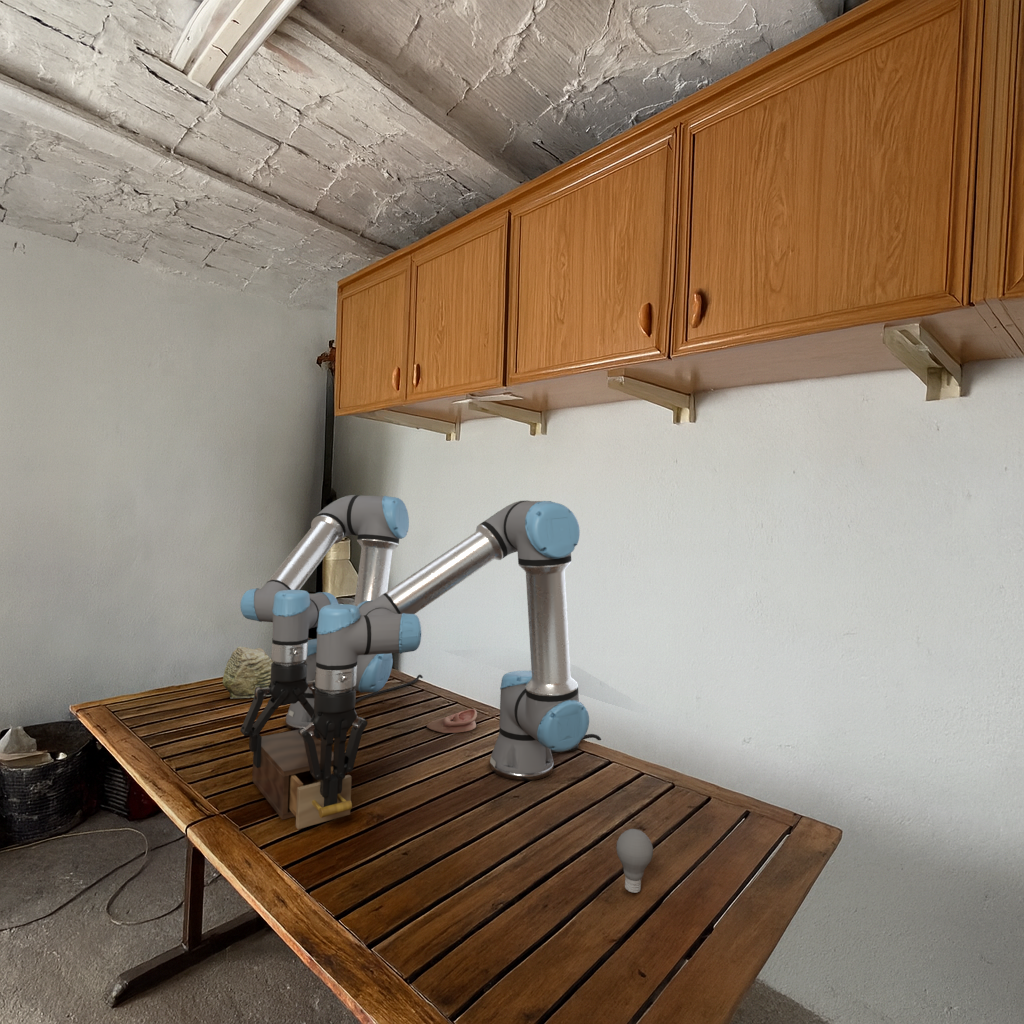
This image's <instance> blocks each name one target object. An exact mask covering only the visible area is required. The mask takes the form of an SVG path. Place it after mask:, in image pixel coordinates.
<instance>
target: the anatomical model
mask: <svg viewBox="0 0 1024 1024" xmlns="http://www.w3.org/2000/svg"><path fill="white" fill-rule="evenodd" d="M477 717H478V711H477V709H475V708H470V709H469V708H468V709H465V710H462V711H458V712H455V713H453V714H450V715H448V716H445V717H441V718H437V719H434V720H433V721H430V722H429V723H428V724H427V725H426V728H427V729H429V730H432V731H434V732H438V733H443V734H455V733H456V734H457V733H464V732H465V733H466V732H470V731H473V730H474V729H476V727H477V723H476V719H477Z"/></svg>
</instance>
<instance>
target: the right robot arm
mask: <svg viewBox="0 0 1024 1024" xmlns="http://www.w3.org/2000/svg"><path fill="white" fill-rule="evenodd" d="M475 528H476V530H475V532H474V533H472V534H470V535H469V536H468V537H466V538H464V539H463V540H461V541H460V542H459V543H457V544H456V545H454V546H452V547H451V548H450V549H448V550H447V551H445V552H444V553H442V554H441V555H439V556H437V557H436V558H435V559H433V560H432V561H431V562H429V563H428V564H425V566H423V567H422V568H420V569H418V570H417V571H415V572H414V573H412V574H411V575H410V576H408V577H407V578H405V579H403V580H402V581H401V582H399V583H397V584H396V585H394V586H393V587H392V588H390V589H388V591H387V592H386V593H384V594H383V595H381V596H379V597H378V598H376V599H375V600H371V601H364V602H362V603H360V604H359V605H358V606H355V605H354V604H349V603H346V604H345V603H344V604H343V603H338V604H332V605H327V606H324V607H323V608H322V609H321V610H320V612H319V619H318V626H317V627H316V639H317V654H316V674H315V687H317V689H316V690H315V695H314V714H313V717H312V719H311V723H310V724H309V725H308V726H306V727H305V728H303V727H302V728H300V729H299V731H298V732H299V734H300V735H301V737H302V738H303V740H304V744H305V749H306V754H307V759H308V764H309V768H310V773H311V775H312V776H313V777H314V778H315V779H316V780H319V779H320V794H321V795H322V796H323V797H324V807H326V806H329V805H333V804H337V794H339V793H341V791H342V780H343V779H344V778H345V776H346V774H347V773H352V771H353V770H354V766H355V763H356V759H357V755H358V751H359V747H360V744H361V739H362V737H363V733H364V731H365V730H366V728H367V726H368V721H367V720H366V719H365V718H363V717H362V716H358V713H357V711H356V709H355V708H356V703H355V701H356V699H357V698H356V697H357V691H356V689H355V688H354V686H355V685H356V677H357V658H358V655H371V654H390V653H392V654H405V653H411V652H415V651H417V650H418V649H419V647H420V645H421V642H422V625H421V621H420V618H419V616H418V615H416V614H417V613H418V612H420V611H421V610H423V609H424V608H426V607H427V606H429V605H430V604H432V603H433V602H435V601H436V600H437V599H439V598H440V597H442V596H443V595H444V594H446V593H447V592H449V591H450V590H452V589H454V588H455V587H456V586H457V585H459V584H460V583H462V582H463V581H465V580H466V579H468V578H469V577H470V576H472V575H474V574H475V573H476V572H478V571H479V570H481V569H482V568H483V567H485V566H487V565H488V564H489V563H491V562H492V561H494V560H496V561H502V560H503V559H504V558H506V557H507V556H509V555H511V554H514V553H517V562H518V566H519V567H520V568H521V569H522V570H523V571H524V572H525V583H526V584H525V585H526V600H527V616H528V635H529V651H530V652H529V653H530V669H531V670H513V671H509V672H506V673H504V674H503V676H502V677H501V682H500V688H499V689H500V695H499V697H500V699H499V702H500V703H499V723H498V724H499V725H498V726H499V727H498V736H497V737H496V741H495V743H494V746H493V749H492V752H491V755H490V758H489V768H490V769H491V771H492V772H493V773H494V774H496V775H498V776H500V777H502V778H505V779H508V780H513V781H536V780H541V779H544V778H546V777H548V776H549V775H551V774H552V773H553V772H554V758H553V754H559V753H560V754H561V753H566V752H573V751H576V750H578V749H579V747H580V743H581V742H582V741H585V740H587V739H591V738H592V739H596V740H597V741H601V740H602V738H601V737H600V736H599V734H595V733H588V730H589V726H590V714H589V711H588V709H587V708H586V707H585V705H584V704H583V703H582V702H581V701H580V700H579V699H580V698H579V684H578V682H577V681H576V680H575V679H574V678H573V677H572V676H571V658H570V642H569V641H570V640H569V639H570V638H569V621H568V601H567V584H566V569H567V568H568V567H569V566H570V564H571V563H572V552H574V551H575V548H576V547H577V546H578V543H579V541H580V533H581V532H580V531H581V530H580V529H581V528H580V525H579V521H578V519H577V516H576V515H575V514H574V513H573V511H572V510H570V508H569V507H568V506H566V505H564V504H561V503H558V502H555V501H551V500H518V501H514V502H512V503H510V504H509V505H506V506H505V507H503V508H502V509H500V510H499V511H497V512H496V513H494V514H493V515H491V516H490V517H488V518H486V519H485V520H483V521H482V522H481V523H479V524H478V525H476V527H475ZM314 729H316V730H317V732H318V733H319V734H320V738H319V740H320V741H321V756H320V766H319V761H318V756H317V751H316V747H315V742H314V740H313V738H312V737H314ZM348 731H350V733H349V737H348V740H347V734H348ZM587 733H588V734H587ZM346 742H347V745H346ZM332 752H334V757H333V772H334V775H333V774H331V759H332Z"/></svg>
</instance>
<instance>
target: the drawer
mask: <svg viewBox="0 0 1024 1024" xmlns="http://www.w3.org/2000/svg"><path fill="white" fill-rule="evenodd" d="M331 774H333V775H334V772H333V766H331ZM352 779H353V778H352V776H351V775H350V774H347V775H346V774H345V778H344V779H343V780H342V791H341V793H339V794H337V804H333V805H329V806H326V807H324V797H323V796H322V795H321V794H320V779H319V780H316V779H315V778H314V777H313V776H312V775H311V773H310V771H306V772H302V773H297V774H293V775H289V790H288V808H289V809H290V811H291V812H292V813H293V814H294V815H295V828H296V829H297V830H301V829H304V828H307V827H311V826H314V825H315V826H316V825H319V824H322V823H325V822H328V821H332V820H335V819H339V818H342V817H346V816H349V815H351V810H352V809H353V803H352Z"/></svg>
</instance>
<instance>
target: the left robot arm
mask: <svg viewBox="0 0 1024 1024" xmlns="http://www.w3.org/2000/svg"><path fill="white" fill-rule="evenodd" d="M409 518H410V517H409V512H408V509H407V506H406V504H405V502H404V501H403V500H402V499H401V498H400V497H396V496H389V495H360V494H349V495H345V496H342V497H340V498H338V499H335V500H333V501H332V502H330V503H329V504H327V505H326V506H324V507H323V509H321V510H320V511H319V512H318V513H317V514H316V515H315V516H314V518H313V519H312V520H311V523H310V529H309V530H308V531H307V532H306V533H305V535H304V536H303V537H302V538H301V540H300V541H299V542H298V543H297V545H296V546H295V547H294V548H293V550H292V551H291V552H290V553H289V554H288V555H287V557H286V558H285V559H284V560H283V562H281V564H280V565H279V566H278V568H277V569H276V570H275V571H274V572H273V574H272V575H271V576H270V578H269V579H268V580H267V581H266V582H265V583H264V585H263V586H262V587H261V588H258V587H257V588H250V589H248V590H246V591H245V592H244V593H243V594H242V596H241V599H240V604H239V606H240V608H239V609H240V612H241V615H242V616H243V617H244V618H245V619H247V620H249V621H256V622H260V623H262V622H263V623H272V639H271V657H270V658H271V660H272V661H274V662H273V663H272V664H271V683H270V685H269V687H266V688H260V687H256V688H255V693H254V697H253V699H252V701H251V704H250V706H249V708H248V710H247V713H246V716H245V718H244V719H243V720H244V721H243V722H242V724H241V727H240V730H239V731H240V733H241V734H242V735H243V736H244V737H249V738H248V740H249V741H248V749H249V750H250V752H251V753H252V765H253V764H254V765H255V766H256V767H257V768H259V767H260V766H261V740H262V735H261V734H260V733H261V732H262V730H263V729H264V727H265V726H266V724H267V722H269V720H270V718H271V717H272V715H273V714H274V712H275V711H276V710H278V709H279V707H280V706H286V705H289V708H288V711H287V713H286V715H285V726H286V728H287V729H289V730H291V731H293V730H299V729H300V728H302V727H303V728H305V727H306V726H308V725H309V724H310V723H311V719H312V717H313V714H314V695H315V690H316V689H317V687H315V674H316V654H317V638H313V639H309V631H310V630H311V629H313V628H318V619H319V612H320V610H321V609H322V608H323V607H324V606H327V605H332V604H339V601H338V599H337V597H336V596H335V595H334V594H332V593H331V592H327V591H323V592H321V591H318V592H315V593H310V592H309V591H308V590H303V589H302V587H303V586H304V585H305V583H306V582H307V581H308V579H309V578H310V577H311V576H312V574H313V572H314V571H315V570H316V569H317V567H318V566H319V565H320V564H321V562H322V561H323V559H324V558H325V557H326V556H327V554H328V553H329V551H330V550H331V549H332V547H333V546H334V545H336V544H339V543H340V542H341V541H342V540H343V539H344V538H345V537H348V536H355V537H356V536H357V539H356V541H357V543H358V544H359V546H360V547H361V551H360V558H359V566H358V572H357V573H358V574H357V582H356V587H355V595H354V604H353V605H355V606H358V605H359V604H360V603H362V602H364V601H371V600H375V599H376V598H378V597H379V596H381V595H383V594H384V593H386V592H387V591H389V582H390V574H391V566H392V557H393V551H394V550H395V549H396V548H397V547H399V545H400V540H402V539H404V538H406V537H407V535H408V533H409V527H410V519H409ZM393 662H394V659H393V653H390V654H371V655H358V658H357V677H356V685H355V686H354V688H355V689H356V692H359V693H362V694H363V693H368V694H366V695H363V696H361V697H358V698H356V701H355V704H356V703H359V702H360V701H363V700H365V699H368V698H371V697H374V696H376V695H380V694H384V693H388V692H391V691H395V690H398V689H401V688H404V687H407V686H410V685H413V684H414V683H416V682H418V680H419V679H423V678H424V676H423V675H422V674H418V675H417V676H416V677H415V679H413V680H411V681H408V682H407V683H406V682H405V683H403V684H400V685H396V686H393V687H389V688H385V689H383V688H384V687H385V685H386V683H387V682H388V680H389V678H390V675H391V673H392V669H393V664H394V663H393ZM268 693H270V695H271V696H270V698H269V699H268V701H267V705H266V706H265V707H264V708H263V710H262V711H261V713H260V714H259V712H260V709H261V708H262V705H263V702H264V699H265V698H266V697H267V696H266V695H267V694H268ZM257 716H258V717H257ZM314 736H315V737H316V738H318V739H319V740H320V734H319V733H318V732H317V730H316V729H314ZM253 752H254V754H253Z"/></svg>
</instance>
